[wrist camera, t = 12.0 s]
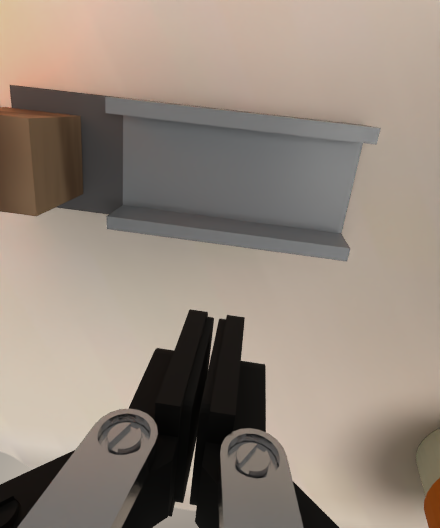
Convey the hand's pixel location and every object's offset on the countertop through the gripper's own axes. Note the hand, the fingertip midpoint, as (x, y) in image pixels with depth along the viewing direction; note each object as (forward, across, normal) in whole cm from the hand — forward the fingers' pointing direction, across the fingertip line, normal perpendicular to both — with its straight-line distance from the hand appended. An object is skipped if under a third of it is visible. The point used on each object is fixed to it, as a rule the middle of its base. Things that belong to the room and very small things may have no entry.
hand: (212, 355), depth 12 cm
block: (+20, +16, -2) cm, 26 cm away
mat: (+21, +14, -2) cm, 26 cm away
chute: (+21, +1, -2) cm, 21 cm away
